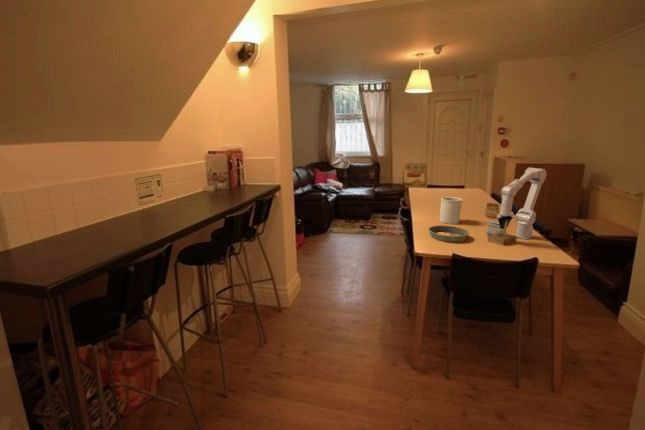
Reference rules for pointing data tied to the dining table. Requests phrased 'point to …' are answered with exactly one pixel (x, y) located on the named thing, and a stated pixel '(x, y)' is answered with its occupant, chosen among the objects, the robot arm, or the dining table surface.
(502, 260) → the dining table surface
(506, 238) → the hole block
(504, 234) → the peg
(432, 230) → the cake pan
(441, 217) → the utensil holder
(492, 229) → the medicine box
